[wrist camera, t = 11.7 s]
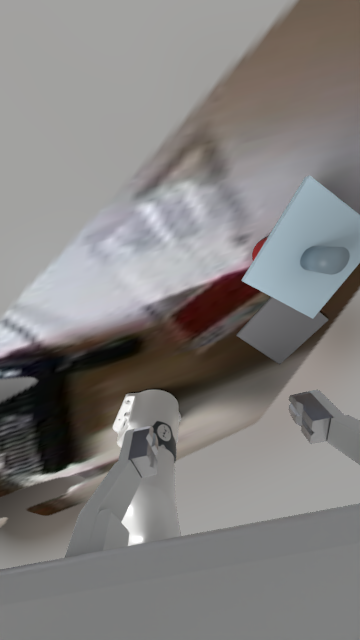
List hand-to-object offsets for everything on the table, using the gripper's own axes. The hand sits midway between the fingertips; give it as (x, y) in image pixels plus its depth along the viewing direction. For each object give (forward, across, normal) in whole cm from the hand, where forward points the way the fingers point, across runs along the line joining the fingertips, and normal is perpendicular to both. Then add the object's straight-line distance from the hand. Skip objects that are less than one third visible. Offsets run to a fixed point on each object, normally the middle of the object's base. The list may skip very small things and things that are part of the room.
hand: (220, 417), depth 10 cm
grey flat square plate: (+31, -22, +16) cm, 41 cm away
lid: (+19, -18, -3) cm, 27 cm away
